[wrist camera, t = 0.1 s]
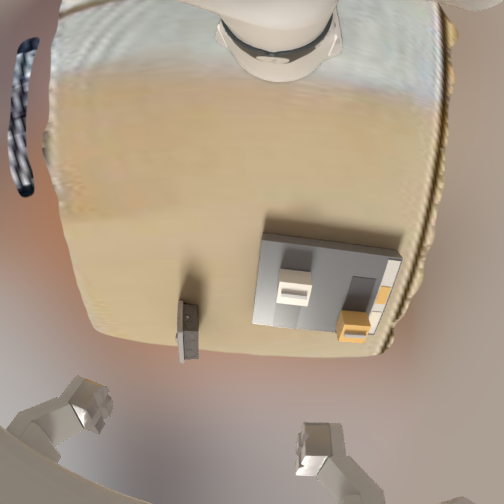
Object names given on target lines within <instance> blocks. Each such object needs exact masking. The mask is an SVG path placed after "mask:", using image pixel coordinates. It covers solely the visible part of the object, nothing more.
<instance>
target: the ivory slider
mask: <svg viewBox="0 0 504 504" xmlns="http://www.w3.org/2000/svg"><path fill="white" fill-rule="evenodd" d="M311 289H312V279H311V272H305V271H297V270H289V269H281V268H280V273H279V280H278V286H277V298H276V303H282V304H290V305H299V306H308V302H309V298H310V293H311Z"/></svg>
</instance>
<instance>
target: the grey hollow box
mask: <svg viewBox="0 0 504 504" xmlns="http://www.w3.org/2000/svg"><path fill="white" fill-rule="evenodd" d="M176 342H178V348H179V360H180V363H184V360H185V359H198V314H197V305H189V304H183V301H179V302H178V317H177V334H176Z"/></svg>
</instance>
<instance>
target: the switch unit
mask: <svg viewBox="0 0 504 504" xmlns="http://www.w3.org/2000/svg"><path fill="white" fill-rule="evenodd" d="M402 260H403V258H402V257H401V255H400V254H399V252H398V251H397V250H390V249H383V248H376V247H369V246H362V245H355V244H347V243H340V242H333V241H325V240H317V239H310V238H302V237H294V236H286V235H278V234H270V233H263V235H262V241H261V250H260V259H259V268H258V277H257V286H256V295H255V304H254V313H253V322H252V324H260V325H268V326H274V327H282V328H291V329H304V330H315V331H326V332H335V333H337V332H336V324H337V321H338V318H339V315H340V312H341V310H345V311H357V312H367V315H368V318H369V321H370V324H371V328H370V331H369V333H368V334H369V335H374V334H375V331H376V329H377V327H378V324H379V322H380V319H381V317H382V314H383V312H384V309H385V307H386V304H387V302H388V299H389V297H390V294H391V291H392V288H393V286H394V283H395V280H396V277H397V274H398V272H399V269H400V266H401V263H402ZM280 268H281V269H289V270H297V271H305V272H311V279H312V289H311V293H310V298H309V302H308V306H299V305H290V304H282V303H276V298H277V286H278V280H279V273H280Z"/></svg>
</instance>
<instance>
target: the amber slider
mask: <svg viewBox="0 0 504 504" xmlns="http://www.w3.org/2000/svg"><path fill="white" fill-rule="evenodd" d="M370 328H371V324H370V321H369V318H368V315H367V312H357V311H345V310H341V312H340V315H339V318H338V321H337V324H336V332H337V337H338V341H339V342H354V343H364V342H365V340H366V338H367V335H368V333H369V331H370Z"/></svg>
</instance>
